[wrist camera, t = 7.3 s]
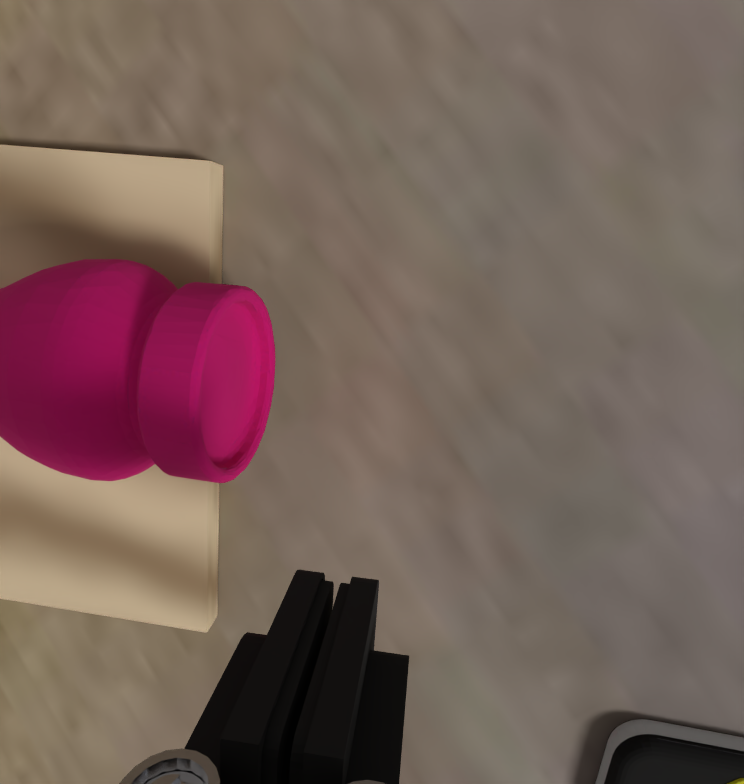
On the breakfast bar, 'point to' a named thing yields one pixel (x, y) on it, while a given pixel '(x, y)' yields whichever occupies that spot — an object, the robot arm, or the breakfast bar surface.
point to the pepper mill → (133, 372)
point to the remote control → (670, 755)
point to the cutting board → (153, 487)
